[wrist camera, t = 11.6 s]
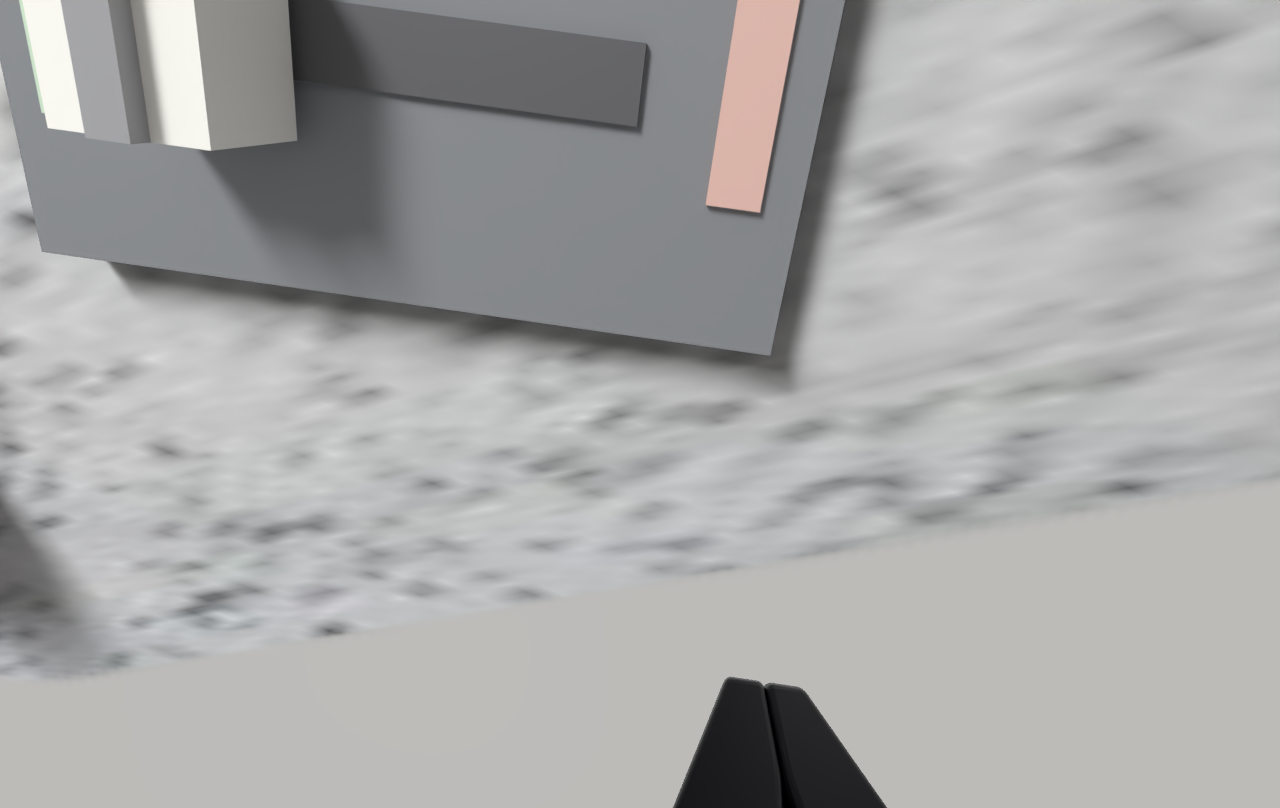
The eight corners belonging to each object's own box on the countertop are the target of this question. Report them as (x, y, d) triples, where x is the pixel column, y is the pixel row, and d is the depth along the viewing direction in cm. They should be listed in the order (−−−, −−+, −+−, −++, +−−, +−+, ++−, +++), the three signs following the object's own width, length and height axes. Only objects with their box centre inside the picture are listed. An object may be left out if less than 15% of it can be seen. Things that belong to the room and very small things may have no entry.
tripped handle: (282, -76, 14) (157, -127, 11) (297, 140, 15) (193, 152, 12) (132, -96, 14) (-37, -154, 11) (162, 121, 16) (23, 129, 12)
